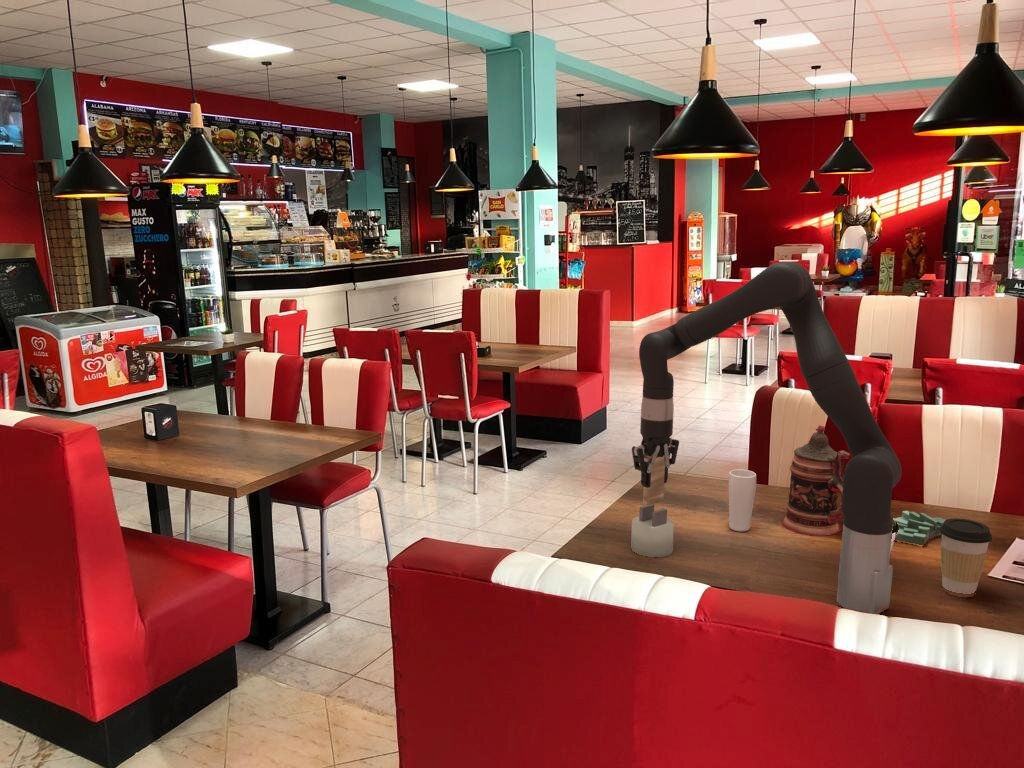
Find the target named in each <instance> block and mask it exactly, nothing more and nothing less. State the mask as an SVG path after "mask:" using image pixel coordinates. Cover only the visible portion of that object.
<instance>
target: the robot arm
mask: <svg viewBox="0 0 1024 768" xmlns="http://www.w3.org/2000/svg"><path fill="white" fill-rule="evenodd" d="M775 308H780V310H781V311H782V312H783V315H784V316H785V318H786V320H787V322H788V324H789V326H790V328H791V331H792V333H793V337H794V343H795V347H796V355H797V360H798V364H799V368H800V371H801V374H802V376H803V379H804V381H805V383H806V385H807V387H808V389H809V391H810V394H811V396H812V397H813V399H814V401H815V402H816V404H817V405H818V406H819V407H820V409H821V410H822V411H823V412H824V414H826V416H827V418H829V419H830V420H831V421H832V422H833V424H834V425H835V426H836V427H837V428H838V430H839V431H840V433H841V436H842V437H843V439H844V441H845V443H846V446H847V448H848V450H849V454H850V457H851V458H850V459H849V461H848V462H847V464H846V465H845V467H844V470H843V474H844V477H843V491H842V498H841V499H842V501H841V505H842V512H843V516H844V518H843V519H842V520H843V523H842V528H843V529H842V530H841V531H842V532H841V533H842V534H841V545H840V554H839V555H840V557H839V567H838V578H837V579H838V580H837V589H836V602H839V604H841V605H842V607H845V608H849V609H854V610H858V611H863V612H869V613H876V612H879V610H882V609H883V608H885V607H886V606H888V605H889V606H890V600H891V590H892V582H893V571H894V566H893V565H892V564H890V557H891V556H890V555H891V547H892V541H891V539H892V530H893V518H894V517H893V515H892V513H891V508H892V496H893V495H892V494H893V488H895V487H896V485H898V483H899V482H900V480H901V477H902V464H901V462H900V460H899V458H898V456H897V454H896V452H895V451H894V449H893V448H892V446H891V444H890V442H889V441H888V440H887V437H886V436H885V435H884V433H883V431H882V430H881V428H880V426H879V424H878V422H877V421H876V419H875V417H874V414H873V413H872V410H871V407H870V404H869V403H868V401H867V399H866V397H865V394H864V392H863V389H862V388H861V386H860V383H859V380H858V379H857V376H856V374H855V372H854V369H853V367H852V365H851V364H850V361H849V359H848V357H847V355H846V353H845V351H844V349H843V348H842V345H841V344H840V342H839V340H838V338H837V336H836V334H835V332H834V330H833V329H832V327H831V325H830V323H829V321H828V320H827V317H826V315H825V313H824V311H823V308H822V306H821V302H820V299H819V295H818V294H817V290H816V287H815V284H814V282H813V278H812V276H811V274H810V272H809V271H808V270H807V269H806V267H805V266H803V265H801V264H800V263H797V262H793V261H781V262H775V263H773V264H770V265H769V266H767V267H766V268H765V269H764V270H762V271H761V272H759V273H758V274H757V275H755V276H754V277H752V279H750V280H749V281H747V282H746V283H745V284H743V285H741V286H740V287H738V288H737V289H736V290H734V291H732V292H731V293H729V294H726V295H725V296H723V297H722V298H721V297H720V298H718V299H717V300H715V301H713V302H711V303H709V304H706V305H704V306H703V307H700V308H698V309H696V310H695V311H692V312H690V313H689V314H687V315H685V316H683V317H681V318H680V319H679V320H677V322H676V323H674V324H672V325H670V326H667V327H665V328H662V329H660V330H657V331H653V332H649V333H647V334H646V335H644V337H643V338H642V339H641V341H640V344H639V349H638V351H639V352H638V356H639V357H638V358H639V363H640V369H641V374H642V378H643V381H642V400H641V405H640V431H639V433H640V435H641V437H642V439H641V442H640V445H637V446H632V447H631V454H632V460H633V467H634V469H635V470H637V471H640V473H641V474H640V485H641V486H642V487H643V488H644V487H646V488H649V487H650V485H651V473H650V472H651V468H652V465H653V464H654V463H655V460H656V458H658V457H663V455H664V462H665V478H664V483H665V484H666V483H668V478H669V477H668V476H669V468H670V467H671V465H675V463H676V459H677V454H678V450H679V445H680V440H677V439H675V438H672V435H673V433H674V414H675V413H674V411H675V409H674V386H675V385H674V384H675V383H674V382H675V381H674V375H673V374H672V373H671V372H669V371H668V369H669V368H668V360H670V359H673V358H675V357H676V356H679V355H680V354H682V353H684V352H686V351H688V350H689V349H690V348H693V347H695V346H698V345H700V344H702V343H705V342H707V341H708V340H710V339H712V338H715V337H716V336H719V335H720V334H722V333H724V332H725V331H727V330H729V329H730V328H731V327H732V326H734V325H736V324H737V323H739V322H741V321H742V320H744V319H747V318H749V317H751V316H753V315H756V314H759V313H762V312H765V311H769V310H772V309H775ZM645 454H646V455H647V456H651V459H646V458H645ZM670 457H671V458H670ZM645 462H648V465H647V467H645ZM839 604H838V605H839ZM842 607H841V608H842ZM866 610H867V611H866ZM878 615H879V613H878Z"/></svg>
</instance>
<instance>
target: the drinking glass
mask: <svg viewBox="0 0 1024 768" xmlns="http://www.w3.org/2000/svg"><path fill="white" fill-rule="evenodd" d="M756 488H757V474H756V473H755V472H754V471H752V470H748V469H742V468H741V469H740V468H739V469H732V470H730V471H729V476H728V488H727V489H728V517H729V518H728V527H729V529H731V530H732V531H734V532H735V531H736V532H741V533H743V532H748V531H750V529H751V524H752V515H753V508H754V504H755V497H756Z"/></svg>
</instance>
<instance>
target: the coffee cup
mask: <svg viewBox="0 0 1024 768" xmlns="http://www.w3.org/2000/svg"><path fill="white" fill-rule="evenodd" d="M944 520H945V521H944V523H943V525H941V527H940V529H939V531H940V533H941V534H942V535H941V542H940V564H941V565H940V569H941V570H940V573H941V577H942V578H941V580H942V581H941V583H942V584H941V585H942V586H943V587H944V588H945V589H947V590H949V591H952V592H956V593H963V594H971V593H974V592H975V591H976V592H977V589H978V584H979V581H980V579H981V576H982V573H983V570H984V564H985V561H986V558H987V553H988V548H989V544H990V542H991V541H992V540H993V536H992V533H991V531H990V527H989V526H987V525H986V524H984V523H982V522H979V521H976V520H972V519H967V518H957V517H956V518H948V519H944Z"/></svg>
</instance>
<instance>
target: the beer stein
mask: <svg viewBox="0 0 1024 768" xmlns="http://www.w3.org/2000/svg"><path fill="white" fill-rule="evenodd" d="M825 430H826V427H825V426H823V425H822V424H819V425H818V427H817V428H815V431H816V432H813V433H812V435H811V436H810V438H809V441H808V443H805V444H804V445H802V446H799V447H796V448H795V449H794V451H793V458H792V461H791V465H790V467H789V470H790V480H789V481H790V482H789V492H788V502H787V504H786V514H785V517H784V519H782V521H781V523H782V524H781V525H782V526H783V527H784V528H786V529H788V530H790V531H792V532H795V533H798V534H802V535H807V536H813V537H815V536H816V537H817V536H818V537H823V536H824V537H826V536H831V535H835V534H838V533H840V531H842V530H843V527H842V524H840V523H839V522H838V520H840V521H842V520H844V516H843V512H842V504H841V506H840V508H838V504H839V495H840V498H841V502H842V491H843V477H844V469H845V468H846V465H845V459H846V460H848V459H851V458H850V457H851V453H850V452H847V451H845V450H839V451H838V452H837V451H835V450H834V449H833V448H832V447H831V446H830V445H829V438H828V436H827V435H826V434H825V433H824V432H825Z"/></svg>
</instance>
